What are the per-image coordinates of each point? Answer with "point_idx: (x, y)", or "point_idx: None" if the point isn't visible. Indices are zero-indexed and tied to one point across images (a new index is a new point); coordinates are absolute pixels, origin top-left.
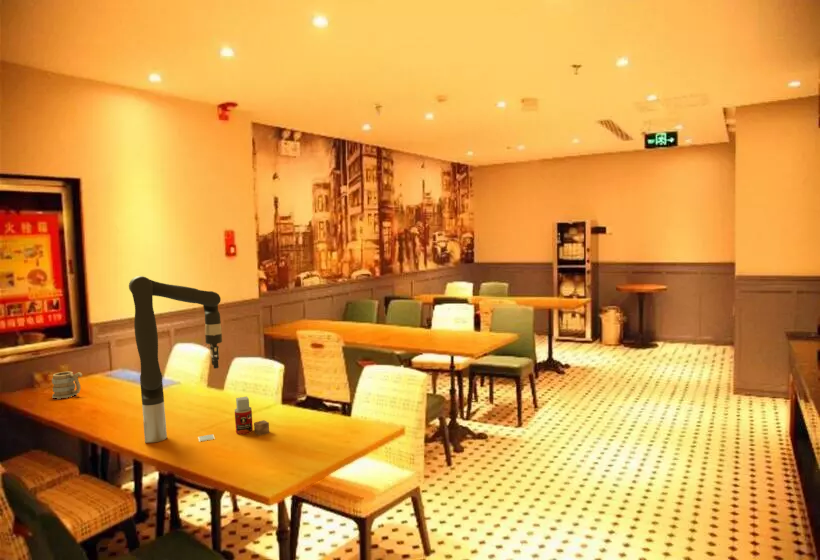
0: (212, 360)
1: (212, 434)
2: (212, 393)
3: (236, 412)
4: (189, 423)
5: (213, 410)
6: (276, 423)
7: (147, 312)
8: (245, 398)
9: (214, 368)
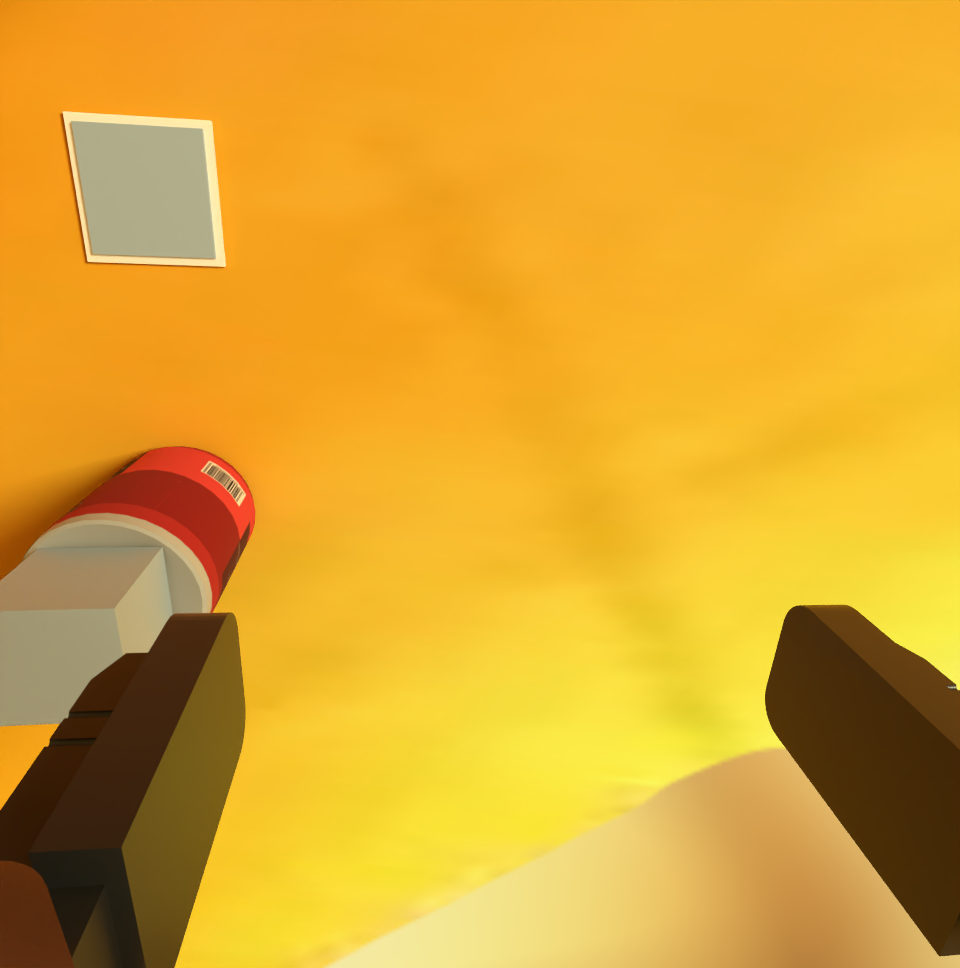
0: (894, 716)
1: (212, 257)
2: None
3: (55, 525)
4: (688, 106)
5: (909, 360)
6: (283, 713)
7: None
8: (42, 698)
9: (183, 622)
